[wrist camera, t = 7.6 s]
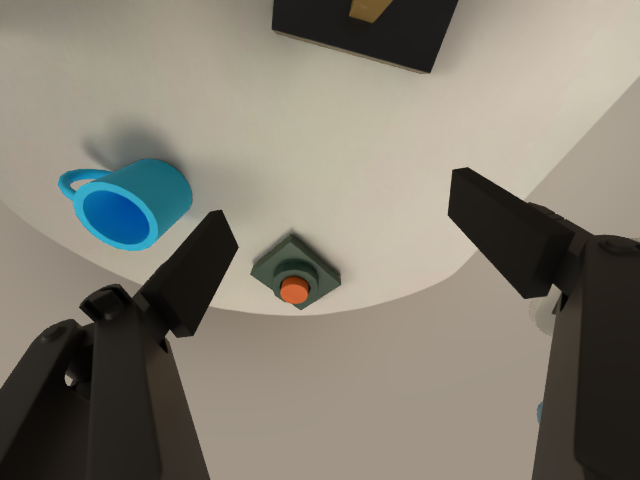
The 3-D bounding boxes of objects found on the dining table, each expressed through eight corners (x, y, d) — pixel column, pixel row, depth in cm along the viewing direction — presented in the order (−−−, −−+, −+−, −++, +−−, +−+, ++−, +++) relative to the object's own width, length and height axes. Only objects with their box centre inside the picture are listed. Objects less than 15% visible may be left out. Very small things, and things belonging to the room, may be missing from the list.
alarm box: (340, 275, 40) (341, 293, 37) (301, 300, 44) (300, 319, 40) (292, 233, 36) (288, 249, 33) (253, 265, 39) (246, 282, 36)
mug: (197, 175, 31) (161, 202, 24) (187, 225, 35) (155, 260, 29) (92, 132, 29) (20, 149, 22) (95, 192, 33) (35, 221, 26)
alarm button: (314, 286, 37) (313, 295, 35) (295, 299, 38) (294, 307, 37) (295, 271, 35) (293, 279, 34) (276, 285, 37) (274, 293, 35)
